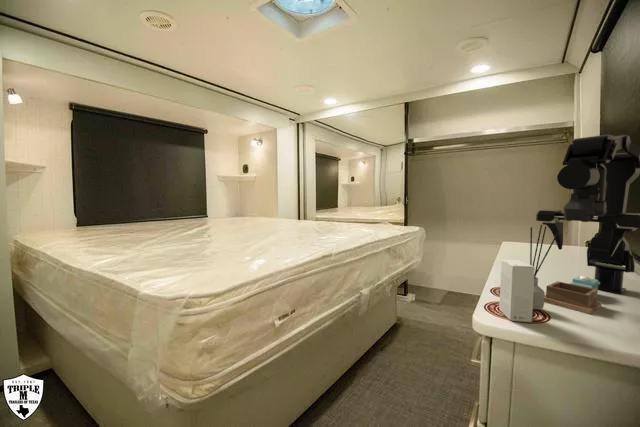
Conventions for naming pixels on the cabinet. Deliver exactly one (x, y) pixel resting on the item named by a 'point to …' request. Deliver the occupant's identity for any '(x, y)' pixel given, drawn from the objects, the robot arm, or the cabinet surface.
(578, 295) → the pocket holder
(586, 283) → the block
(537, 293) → the reed diffuser
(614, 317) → the cabinet surface
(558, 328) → the cabinet surface
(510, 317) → the skincare box
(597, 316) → the cabinet surface
